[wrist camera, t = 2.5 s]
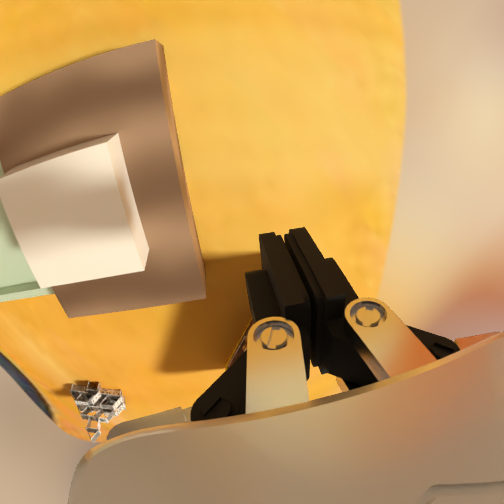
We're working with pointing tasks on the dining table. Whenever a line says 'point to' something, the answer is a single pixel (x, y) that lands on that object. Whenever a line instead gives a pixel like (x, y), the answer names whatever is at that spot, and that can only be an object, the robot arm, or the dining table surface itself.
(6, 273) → the tray
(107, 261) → the tile
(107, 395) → the house of cards
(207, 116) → the dining table surface
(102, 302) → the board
